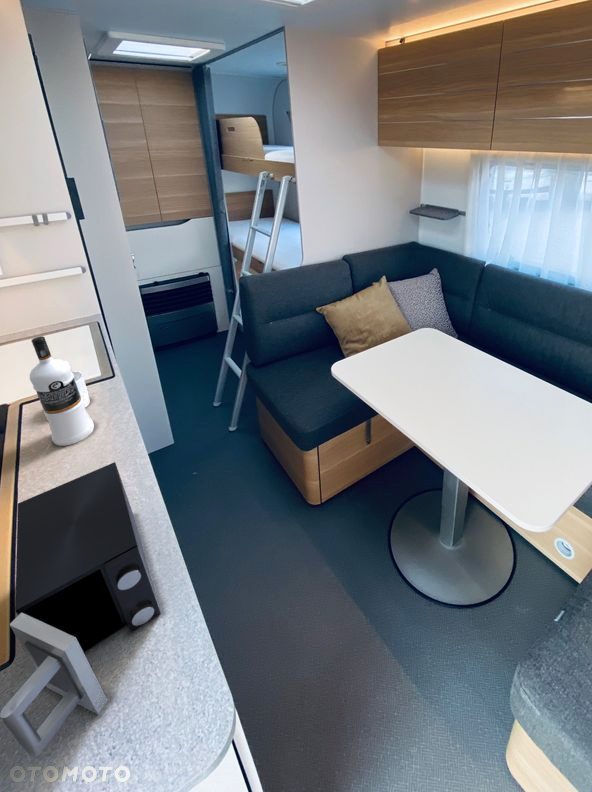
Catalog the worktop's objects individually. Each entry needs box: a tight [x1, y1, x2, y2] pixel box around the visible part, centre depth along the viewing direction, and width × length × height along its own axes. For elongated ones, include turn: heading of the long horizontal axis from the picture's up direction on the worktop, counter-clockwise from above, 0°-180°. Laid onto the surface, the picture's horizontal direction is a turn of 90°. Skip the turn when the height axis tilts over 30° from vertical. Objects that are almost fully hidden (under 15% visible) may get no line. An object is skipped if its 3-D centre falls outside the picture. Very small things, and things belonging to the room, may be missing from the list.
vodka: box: [29, 335, 95, 447], centre depth 105 cm, size 9×9×30 cm
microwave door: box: [0, 612, 109, 760], centre depth 54 cm, size 8×10×16 cm
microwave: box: [14, 461, 162, 654], centre depth 70 cm, size 24×15×16 cm, turn 38°
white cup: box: [72, 371, 91, 408], centre depth 120 cm, size 8×8×10 cm
